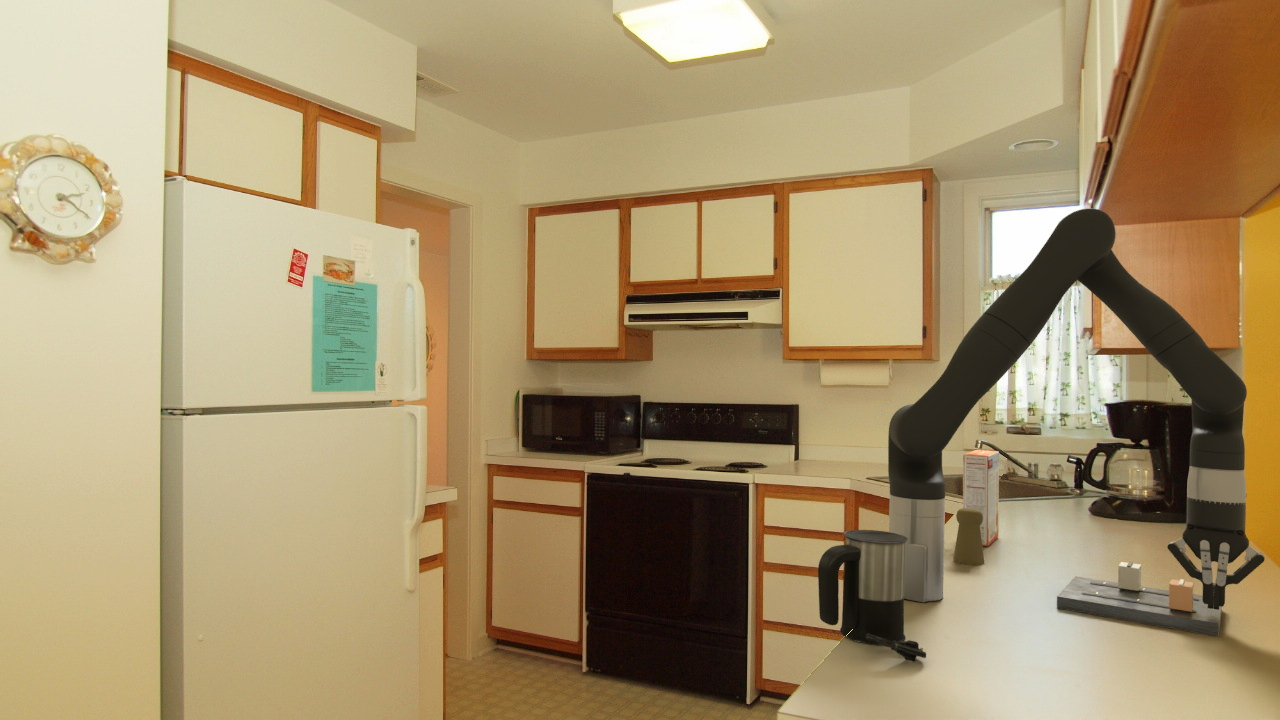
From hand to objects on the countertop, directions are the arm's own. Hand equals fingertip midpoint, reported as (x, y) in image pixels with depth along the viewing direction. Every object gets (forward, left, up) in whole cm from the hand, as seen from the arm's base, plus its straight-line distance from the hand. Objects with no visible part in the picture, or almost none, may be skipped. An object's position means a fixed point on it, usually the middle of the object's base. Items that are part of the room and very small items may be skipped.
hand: (1213, 607), depth 127 cm
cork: (+21, +42, -3) cm, 47 cm away
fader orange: (0, +4, -1) cm, 4 cm away
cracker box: (+46, +46, -3) cm, 65 cm away
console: (+4, +10, -3) cm, 11 cm away
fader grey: (+9, +12, -1) cm, 15 cm away
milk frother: (-43, +37, -3) cm, 57 cm away
